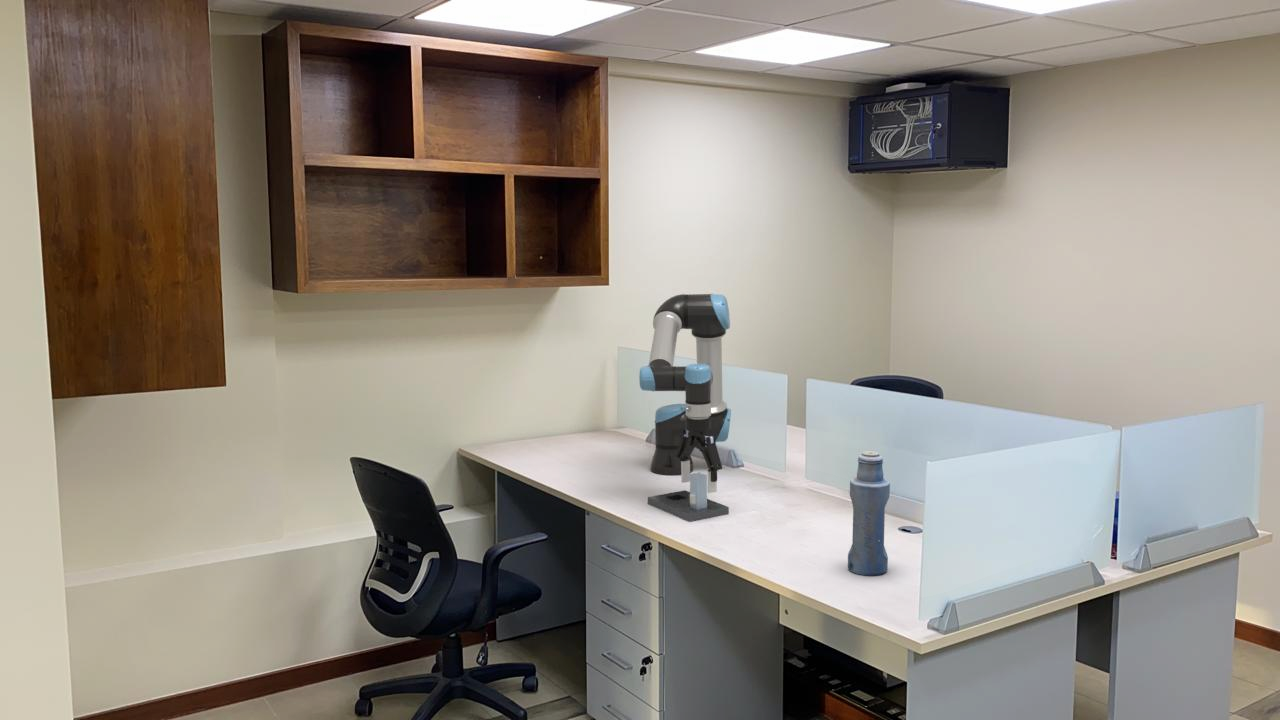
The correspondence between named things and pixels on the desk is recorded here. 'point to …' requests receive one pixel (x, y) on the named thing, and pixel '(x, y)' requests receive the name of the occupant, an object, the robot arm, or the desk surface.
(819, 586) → the desk surface
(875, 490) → the bottle
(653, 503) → the dark grey base plate
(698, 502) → the pale blue rectangular prism
